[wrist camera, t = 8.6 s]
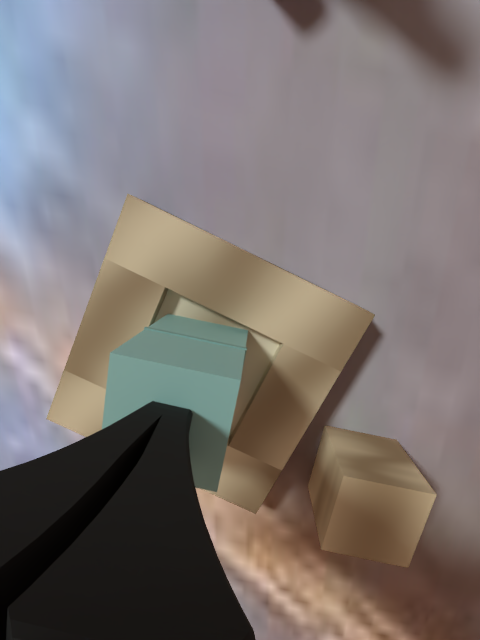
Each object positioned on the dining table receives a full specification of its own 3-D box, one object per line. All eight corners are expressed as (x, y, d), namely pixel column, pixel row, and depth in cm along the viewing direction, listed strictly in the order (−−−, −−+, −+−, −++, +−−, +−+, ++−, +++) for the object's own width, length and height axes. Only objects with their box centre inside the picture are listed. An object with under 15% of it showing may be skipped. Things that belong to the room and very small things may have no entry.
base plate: (361, 307, 15) (375, 315, 14) (256, 488, 18) (255, 513, 16) (143, 200, 15) (127, 193, 13) (67, 402, 18) (46, 418, 16)
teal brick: (249, 329, 15) (242, 379, 9) (233, 404, 16) (218, 493, 10) (167, 312, 15) (108, 351, 9) (156, 388, 16) (96, 467, 10)
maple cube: (395, 438, 17) (436, 494, 13) (375, 498, 18) (408, 568, 14) (324, 424, 17) (343, 475, 13) (307, 485, 18) (321, 549, 14)
